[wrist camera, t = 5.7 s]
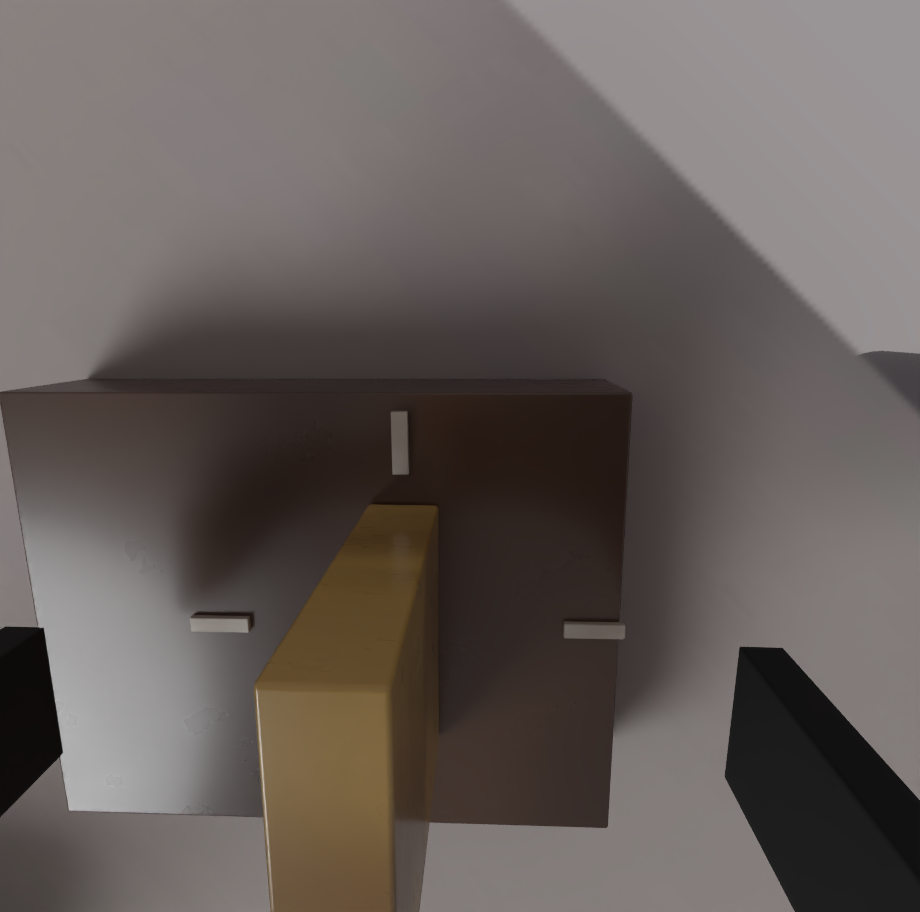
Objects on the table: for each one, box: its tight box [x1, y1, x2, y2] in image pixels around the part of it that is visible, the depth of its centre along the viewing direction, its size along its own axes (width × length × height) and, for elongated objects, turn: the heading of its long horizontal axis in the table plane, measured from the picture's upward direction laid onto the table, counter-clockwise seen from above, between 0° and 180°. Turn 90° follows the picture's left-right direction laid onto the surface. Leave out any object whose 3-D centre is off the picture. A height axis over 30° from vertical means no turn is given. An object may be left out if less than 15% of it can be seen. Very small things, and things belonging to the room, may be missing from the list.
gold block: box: [254, 504, 439, 912], centre depth 11 cm, size 6×2×7 cm, turn 0°
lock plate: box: [0, 379, 632, 828], centre depth 16 cm, size 14×11×3 cm
